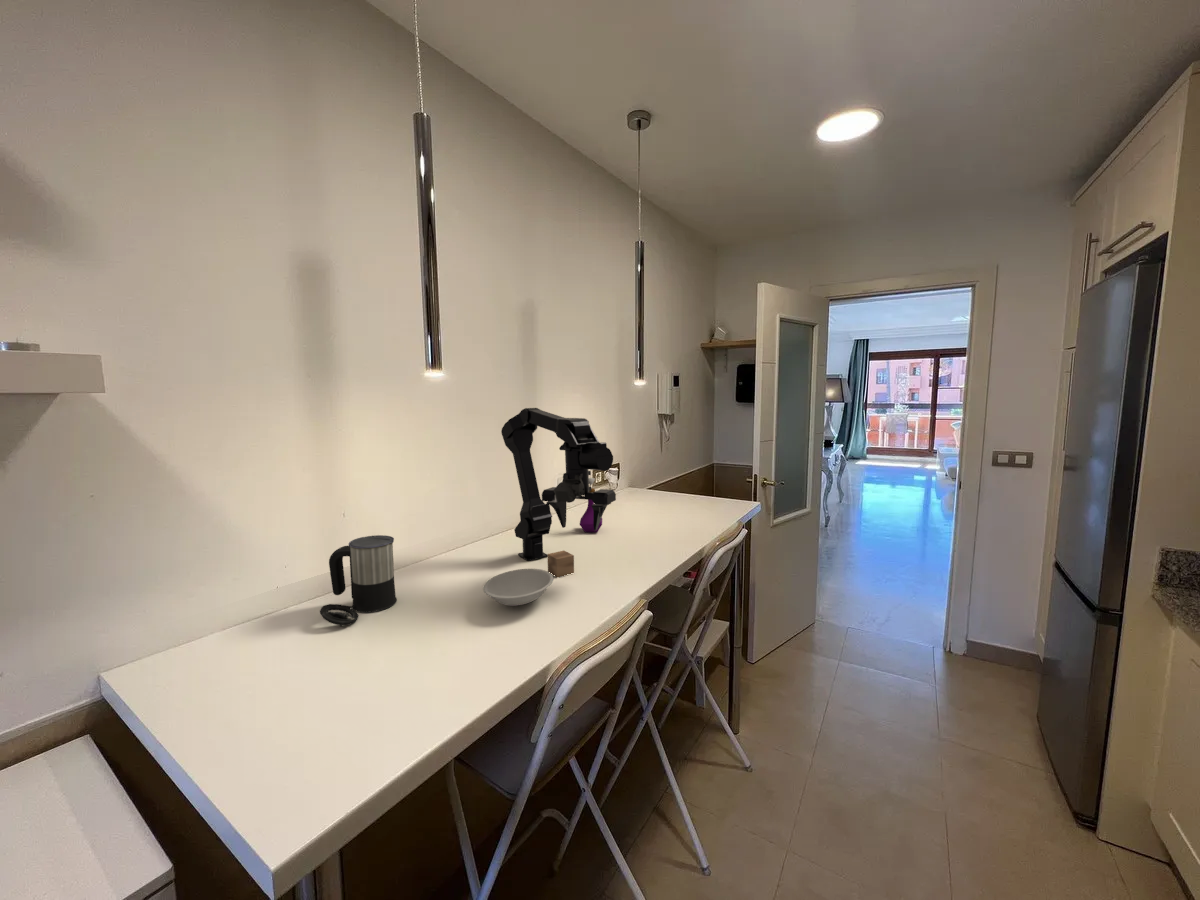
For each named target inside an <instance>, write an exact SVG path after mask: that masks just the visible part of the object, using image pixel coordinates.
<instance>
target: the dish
mask: <svg viewBox="0 0 1200 900" xmlns="http://www.w3.org/2000/svg"><path fill="white" fill-rule="evenodd" d="M553 582H554V576H553V575H552V574H551V573H549V572H548V570H543V569H540V568H519V569H514V570H513V569H512V570H509V571H505V572H502V573H500V574H498V575H497V574H496V575H495V576H493V577H491V578H489V579H488V580H487V581H486V582H485V583H484V584H483V588H482V590H483V593H484V594H485V595H486V596H488V597H490V598H491V599H493V601H495V602H497V603H499V604H502V605H505V606H511V607H512V606H514V607H515V606H523V605H526V604H530V603H531V602H533V601H535V600H537V599H539V597H541V596H542V595H543V594H544V592H546V591H547V589H548V588H549V587H550V586H552V584H553Z"/></svg>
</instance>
